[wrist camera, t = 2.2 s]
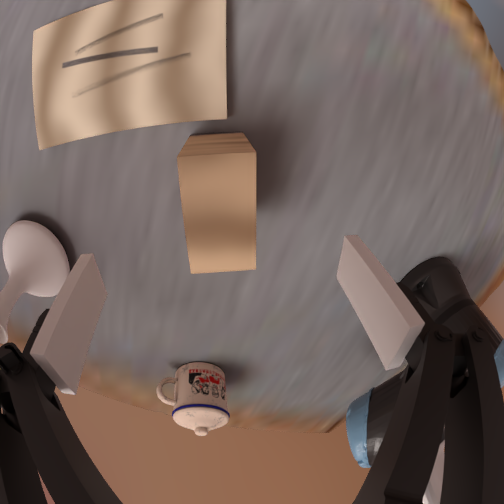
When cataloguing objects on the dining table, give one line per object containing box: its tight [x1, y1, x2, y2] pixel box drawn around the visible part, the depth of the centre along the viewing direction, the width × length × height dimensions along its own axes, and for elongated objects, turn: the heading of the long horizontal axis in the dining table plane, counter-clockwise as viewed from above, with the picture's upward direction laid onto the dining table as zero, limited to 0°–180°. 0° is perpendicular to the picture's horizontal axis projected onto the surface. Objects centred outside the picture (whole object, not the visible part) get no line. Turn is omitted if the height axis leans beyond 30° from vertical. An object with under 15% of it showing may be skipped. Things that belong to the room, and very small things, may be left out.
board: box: [32, 0, 227, 150], centre depth 19 cm, size 20×14×2 cm
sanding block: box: [177, 132, 256, 274], centre depth 23 cm, size 9×5×10 cm, turn 0°
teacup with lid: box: [157, 362, 230, 436], centre depth 40 cm, size 12×9×12 cm
